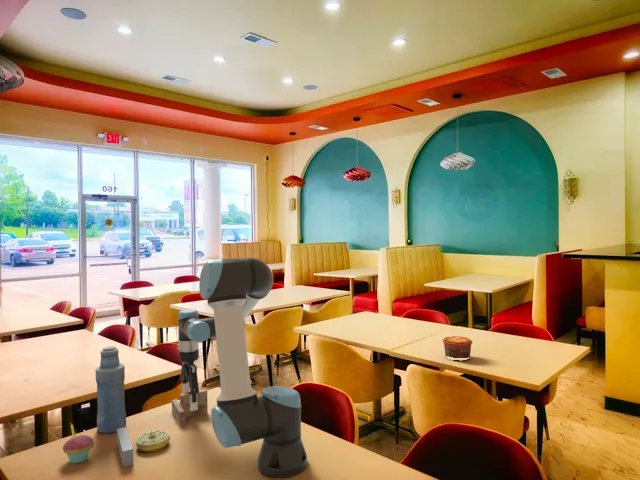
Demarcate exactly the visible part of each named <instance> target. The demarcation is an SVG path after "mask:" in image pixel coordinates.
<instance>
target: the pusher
mask: <svg viewBox="0 0 640 480" xmlns="http://www.w3.org/2000/svg"><path fill="white" fill-rule="evenodd" d="M189 393H190V391H189V392H185V393H181V392H180V393H179V400H178V399H177V398H175V399H172V400H171V414H172V415H173V417H174V419H175V420H176V422H177V423H178V425H179V426H184V425H186V419H188V418H189V419H190V418H193V417H196V416H201V415H202V414H203V415H207V414H208V412H209V411H208V389H206V388H201V389H199V393H197V403H198V410H194V411H190V395H189Z"/></svg>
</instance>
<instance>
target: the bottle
mask: <svg viewBox="0 0 640 480" xmlns="http://www.w3.org/2000/svg"><path fill="white" fill-rule="evenodd" d="M119 352H120V351H119V348H117V347H116V346H114V345H113V346H105V347H103V348H102V350H100V363H99V366H97V367H96V368H95V382H96V398H97V399H96V400H97V403H96V404H97V414H96V431H97V432H98V433H100V434H112V433H117V429H119V428H124V427H127V413H126V403H125V402H126V401H125V400H126V399H125V398H126V397H125V379H126V375H125V374H126V373H125V371H126V370H125V365H124V363H121V362H120V358H119V357H120V356H119Z"/></svg>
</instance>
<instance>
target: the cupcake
mask: <svg viewBox="0 0 640 480" xmlns="http://www.w3.org/2000/svg"><path fill="white" fill-rule="evenodd" d="M69 424H70V428H71V429H70V430H71V436H72V437H71V438H69V439H67V441H66V442H65V443H64V445H63V447H62V450H63V453H65V455H67V457H68V460H69V462H70V463H71V464H79V463H82V462H84V461H86V460H87V458H88V455H89V453H90V450H91V449H92V448H93V447H94V445H95V443H94V438H93V437H91V436H90V435H86V434H85V435H84V434H81V435H78V436H76V432H75V428H74V424H73V423H71V422H70V423H69Z"/></svg>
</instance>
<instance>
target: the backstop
mask: <svg viewBox="0 0 640 480" xmlns="http://www.w3.org/2000/svg"><path fill="white" fill-rule="evenodd" d="M116 444H117V445H116V446H117V449H118V452H119V456H120V457H119V458H120V461H121V465H122V468H124V469H125V468H128V467H131V466H134V464H135V463H134V447H133V445H132V441H131V438H130V434H129V431H128V429H127V426H125V427H124V428H119V429H117V432H116Z"/></svg>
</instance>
